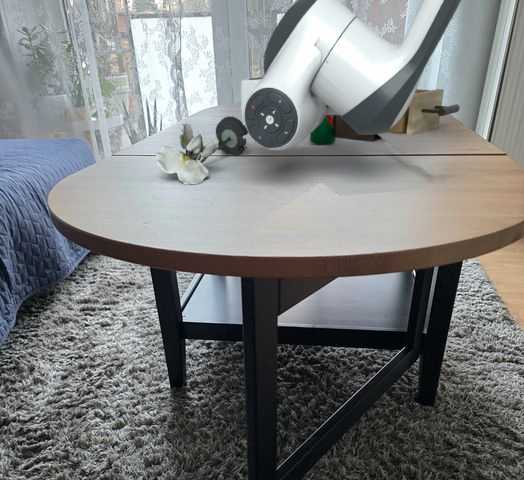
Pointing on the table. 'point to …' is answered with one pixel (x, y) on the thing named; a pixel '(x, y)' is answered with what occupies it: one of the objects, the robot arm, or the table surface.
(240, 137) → the artificial flower
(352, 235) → the table surface
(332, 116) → the soda can
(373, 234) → the table surface
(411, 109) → the drawer
